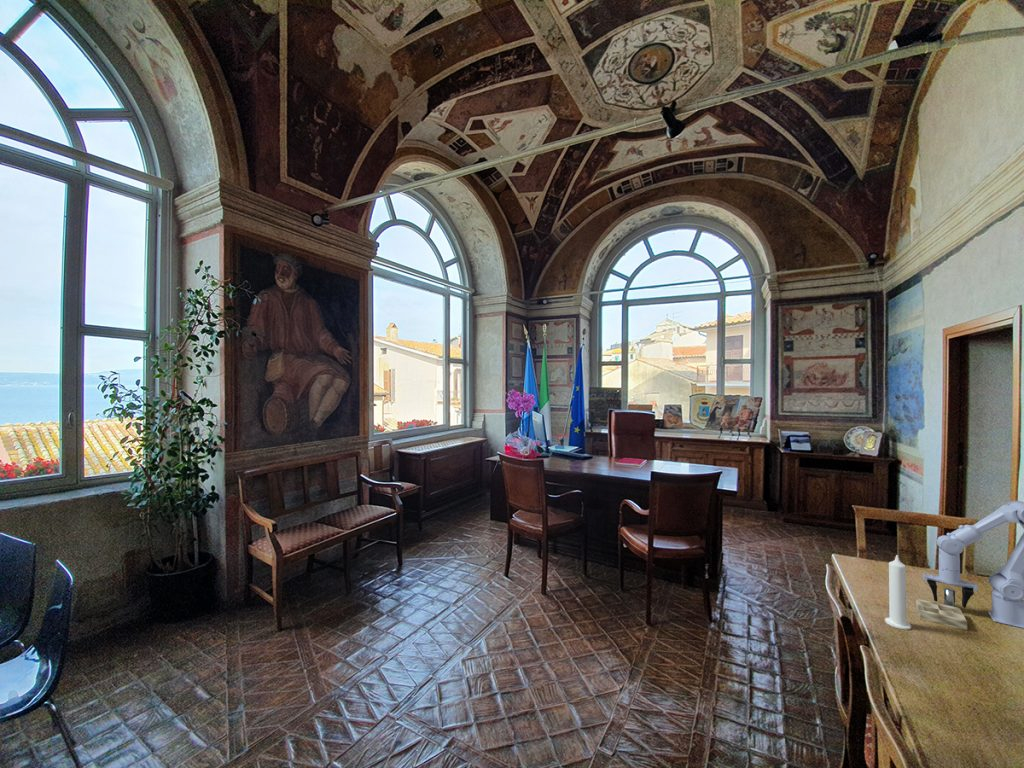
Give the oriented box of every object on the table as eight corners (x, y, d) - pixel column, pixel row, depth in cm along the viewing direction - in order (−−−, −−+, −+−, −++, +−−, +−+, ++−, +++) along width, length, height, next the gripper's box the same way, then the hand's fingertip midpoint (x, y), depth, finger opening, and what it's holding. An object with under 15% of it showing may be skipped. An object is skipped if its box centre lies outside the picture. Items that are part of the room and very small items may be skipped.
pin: (954, 609, 163) (954, 588, 163) (956, 612, 160) (955, 591, 161) (943, 607, 165) (943, 586, 165) (944, 610, 162) (944, 589, 162)
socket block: (959, 616, 158) (959, 608, 158) (967, 630, 149) (967, 621, 149) (915, 605, 166) (915, 598, 166) (920, 619, 156) (920, 610, 156)
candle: (916, 631, 148) (915, 559, 149) (893, 628, 150) (892, 558, 150) (902, 620, 155) (901, 552, 156) (880, 618, 157) (879, 550, 157)
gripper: (974, 569, 161) (974, 605, 161) (921, 560, 170) (921, 593, 170) (978, 576, 156) (979, 612, 156) (924, 565, 165) (924, 600, 165)
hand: (949, 603), depth 163 cm, fingers open, 7 cm apart
